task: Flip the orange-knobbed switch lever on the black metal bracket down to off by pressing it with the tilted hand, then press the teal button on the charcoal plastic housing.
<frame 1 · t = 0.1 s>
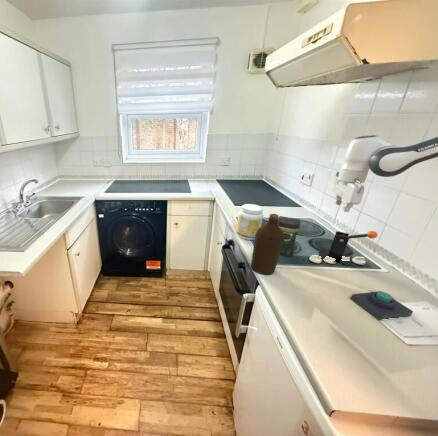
hand: (341, 207, 104), 24 cm above the worktop, tool pointing down, fingers open, 8 cm apart
supplement tub: (247, 236, 131), on the worktop
switch: (356, 236, 101), point 13 cm above the worktop, hinge at 25.0°
switch bracket: (333, 259, 109), on the worktop
button housing: (378, 307, 81), on the worktop
button: (383, 297, 79), point 4 cm above the worktop, slide at 0.1 cm
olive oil: (262, 268, 102), on the worktop
coffee jar: (280, 254, 113), on the worktop
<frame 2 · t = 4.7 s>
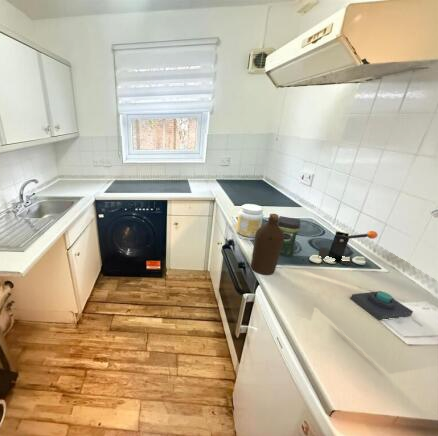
hand: (432, 214, 86), 27 cm above the worktop, tool tilted 45°, fingers closed
nothing on the worktop moved.
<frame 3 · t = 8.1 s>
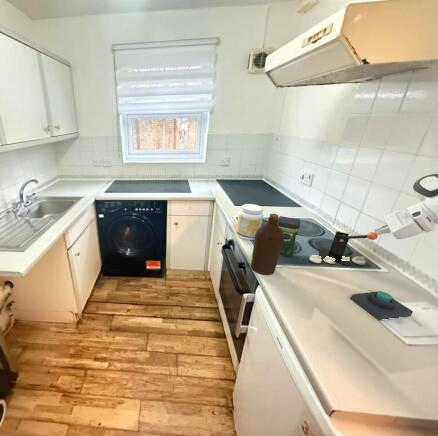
hand: (375, 232, 98), 16 cm above the worktop, tool tilted 45°, fingers closed, pressing on switch
switch: (356, 237, 101), point 13 cm above the worktop, hinge at 21.7°, touching gripper
everything else where it was.
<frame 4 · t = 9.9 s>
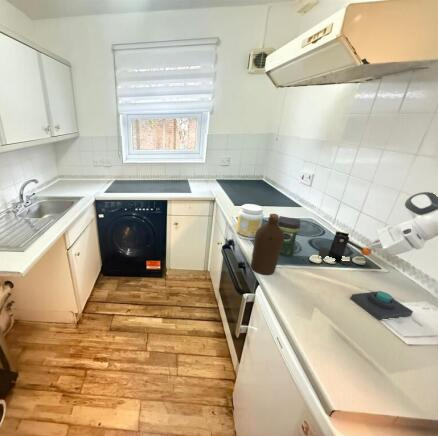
hand: (368, 247, 100), 9 cm above the worktop, tool tilted 45°, fingers closed
switch: (353, 244, 103), point 9 cm above the worktop, hinge at -21.4°, touching gripper
everything else where it was.
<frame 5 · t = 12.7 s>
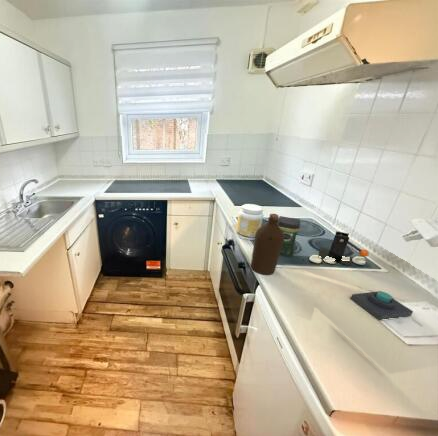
hand: (403, 238, 92), 16 cm above the worktop, tool tilted 45°, fingers closed
switch: (352, 245, 103), point 9 cm above the worktop, hinge at -27.8°
everything else where it was.
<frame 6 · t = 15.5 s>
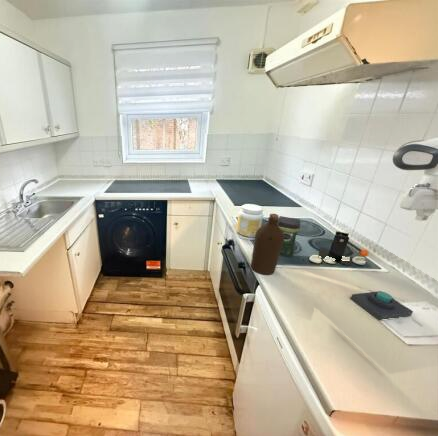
hand: (420, 219, 87), 25 cm above the worktop, tool pointing down, fingers closed
nothing on the worktop moved.
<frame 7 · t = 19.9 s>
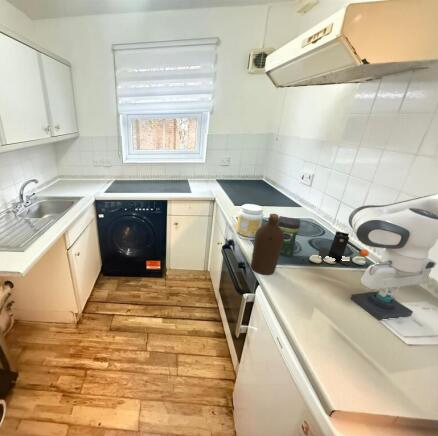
hand: (384, 295, 79), 5 cm above the worktop, tool pointing down, fingers closed, pressing on button
button: (383, 297, 79), point 4 cm above the worktop, slide at 0.0 cm, touching gripper
everything else where it was.
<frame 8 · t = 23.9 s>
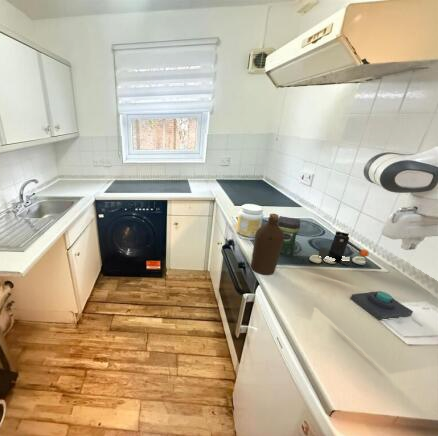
hand: (407, 248, 72), 23 cm above the worktop, tool pointing down, fingers closed
button: (383, 297, 79), point 4 cm above the worktop, slide at 0.1 cm
everything else where it was.
at the end: switch at -28° (first picture: +25°); button pushed in 1.0 cm at the most during the clip, back to where it started at the end; button slide at 0.1 cm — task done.
